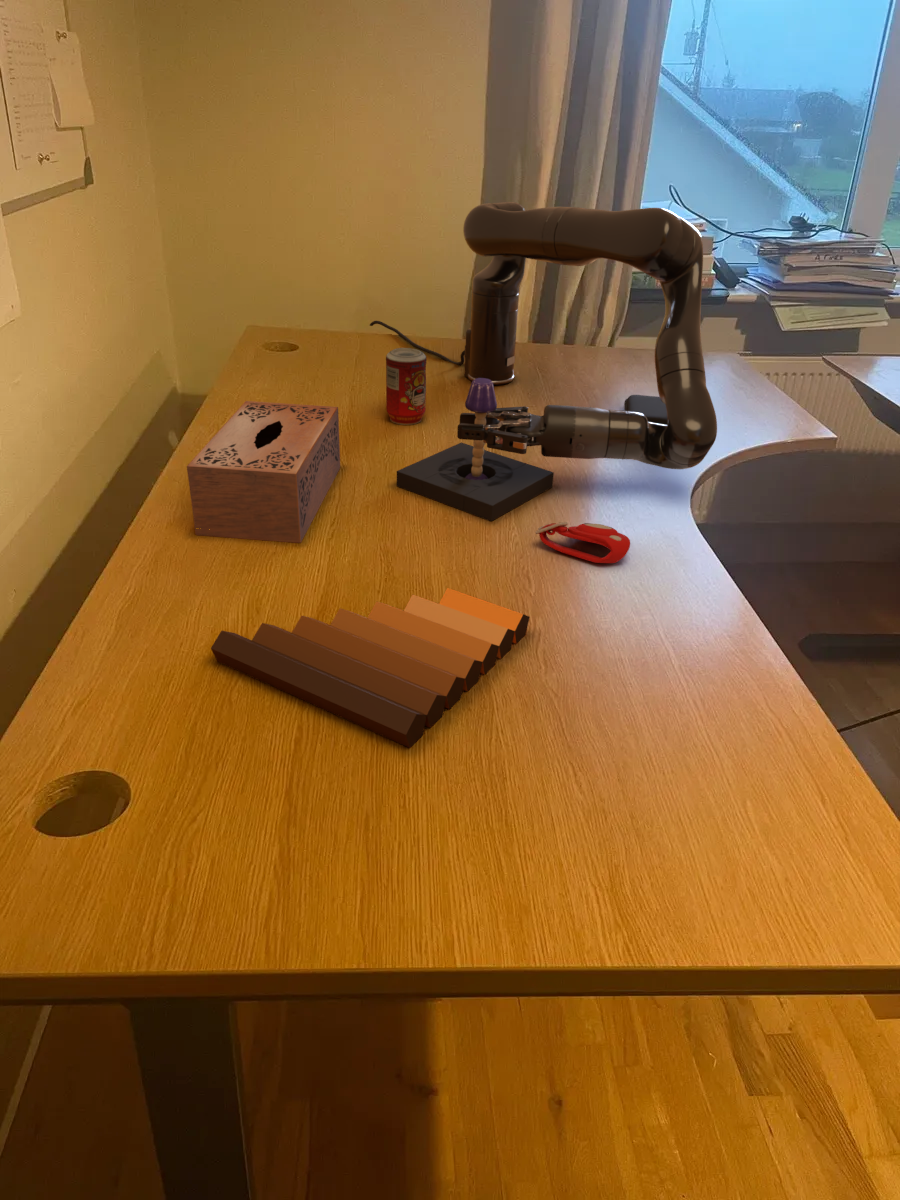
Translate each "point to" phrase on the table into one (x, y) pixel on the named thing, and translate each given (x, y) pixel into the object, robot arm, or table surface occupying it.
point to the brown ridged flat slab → (381, 659)
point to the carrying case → (648, 408)
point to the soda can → (405, 385)
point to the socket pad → (475, 481)
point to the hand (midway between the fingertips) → (459, 425)
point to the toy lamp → (480, 419)
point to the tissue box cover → (265, 472)
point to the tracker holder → (588, 540)
